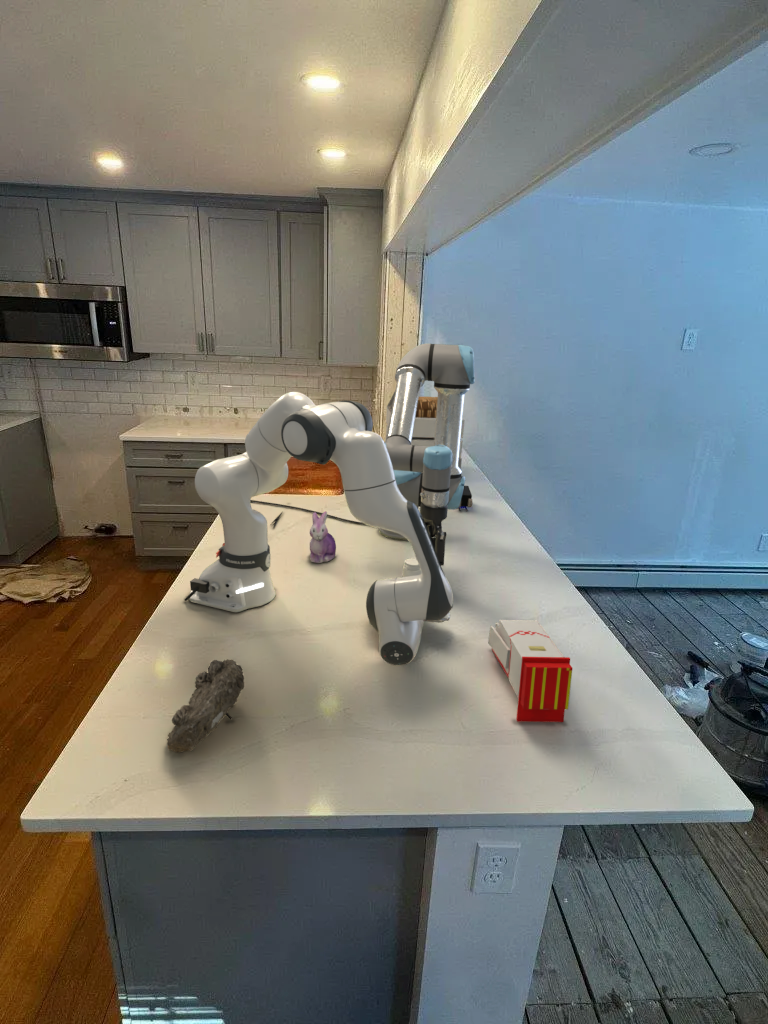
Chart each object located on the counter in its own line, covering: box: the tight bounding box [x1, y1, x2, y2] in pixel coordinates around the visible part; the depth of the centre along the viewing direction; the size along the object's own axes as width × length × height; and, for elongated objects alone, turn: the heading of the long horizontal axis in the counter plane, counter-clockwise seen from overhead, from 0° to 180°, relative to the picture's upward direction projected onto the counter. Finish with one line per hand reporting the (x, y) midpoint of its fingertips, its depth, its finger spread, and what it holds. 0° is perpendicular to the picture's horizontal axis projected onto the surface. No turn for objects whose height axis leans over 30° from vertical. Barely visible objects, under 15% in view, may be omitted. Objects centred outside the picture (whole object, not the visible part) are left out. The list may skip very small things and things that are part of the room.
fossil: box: [166, 658, 245, 754], centre depth 106 cm, size 22×10×15 cm
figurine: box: [309, 510, 337, 564], centre depth 176 cm, size 9×10×15 cm
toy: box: [488, 619, 573, 723], centre depth 122 cm, size 12×13×30 cm
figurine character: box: [457, 485, 473, 512], centre depth 229 cm, size 7×8×15 cm
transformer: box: [384, 391, 465, 470], centre depth 268 cm, size 34×33×41 cm
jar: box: [401, 557, 422, 577], centre depth 145 cm, size 5×5×15 cm
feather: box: [270, 512, 283, 529], centre depth 212 cm, size 2×28×2 cm
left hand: (411, 589), depth 146 cm, fingers closed on jar, 5 cm apart
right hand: (428, 580), depth 163 cm, fingers closed on lid, 6 cm apart
